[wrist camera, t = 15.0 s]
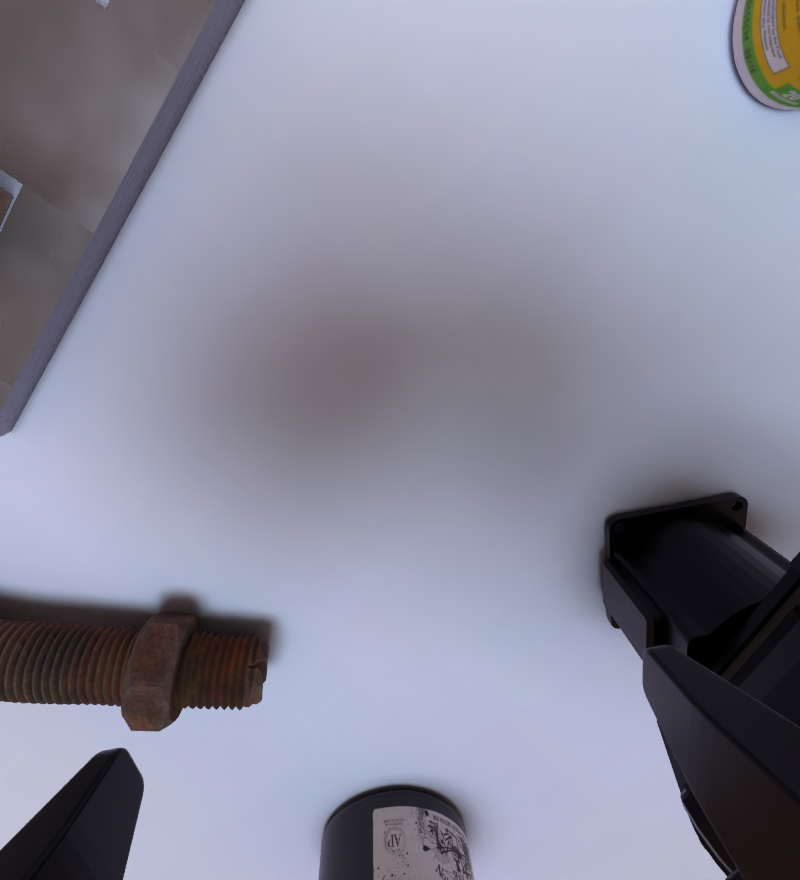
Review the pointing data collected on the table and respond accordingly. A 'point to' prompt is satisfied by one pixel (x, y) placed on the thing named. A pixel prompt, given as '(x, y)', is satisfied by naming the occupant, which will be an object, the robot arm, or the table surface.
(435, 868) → the ink bottle
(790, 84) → the supplement bottle
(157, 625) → the bolt
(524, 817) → the table surface
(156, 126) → the strike plate
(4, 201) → the birch peg
